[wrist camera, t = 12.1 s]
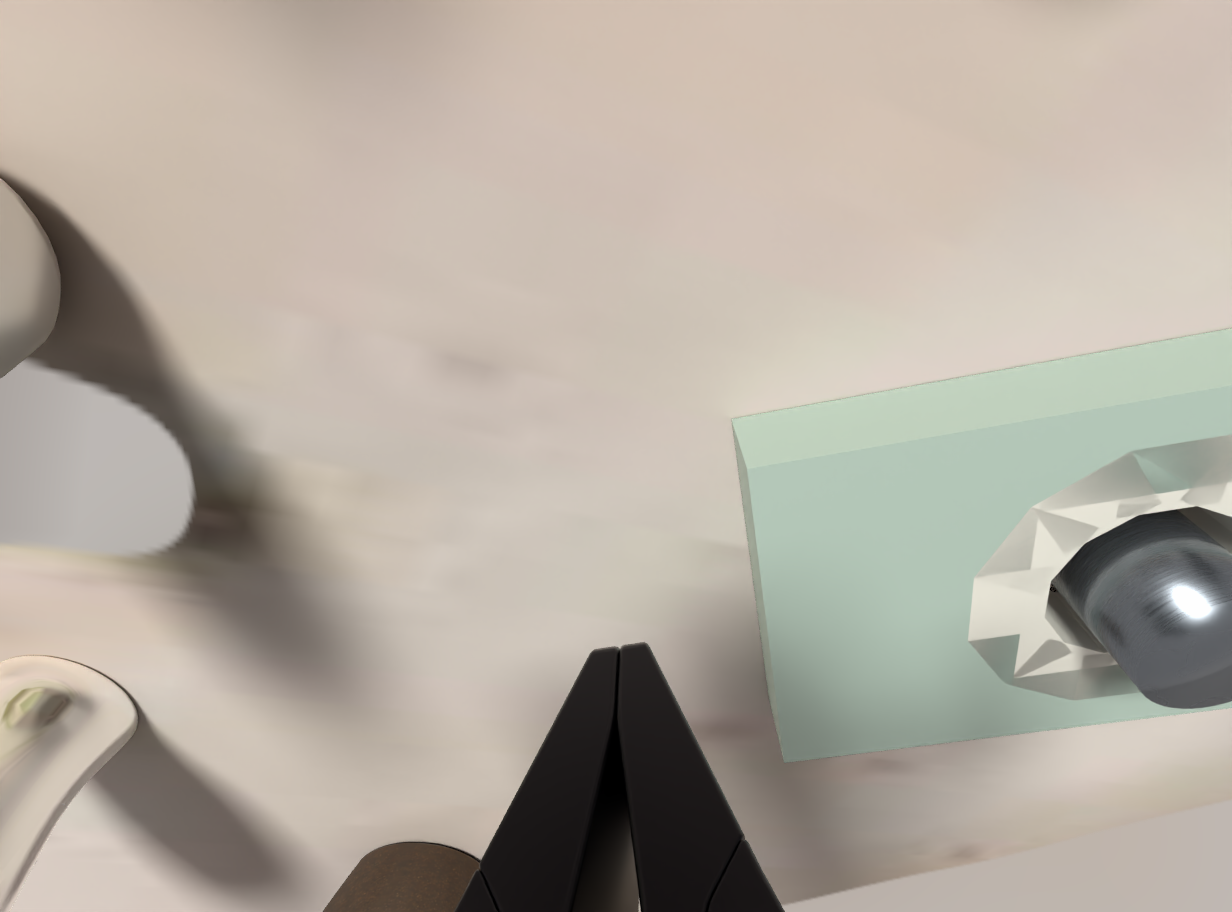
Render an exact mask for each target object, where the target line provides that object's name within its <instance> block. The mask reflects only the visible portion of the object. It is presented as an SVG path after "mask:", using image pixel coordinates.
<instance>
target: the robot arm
mask: <svg viewBox="0 0 1232 912" xmlns="http://www.w3.org/2000/svg"><path fill="white" fill-rule="evenodd" d="M479 868H480V870H481V871H480V870H476V871H475V872H474V874H473V876H472V878H471V880H470V882H469V884H468V886H467V888H466V890H465V891H464V893H463V895H462V897H461V899H460V901H459V903H458V904H457V906H456V908H455V910H454V912H638V905H639V900H640V907H641V912H785V911H784V910H783V908H782V906H781V904H780V902H779V900H778V899H777V897H776V895H775V893H774V891H773V889H772V888H771V886H770V884H769V882H768V880H767V878H766V876H765V875H764V873H763V871H762V869H761V867H760V865H759V863H758V861H757V859H756V857H755V855H754V853H753V851H752V849H751V847H750V845H749V843H748V842H747V841H746V840H745V837H744V834H743V832H742V830H741V828H740V826H739V824H738V822H737V820H736V818H735V816H734V814H733V812H732V810H731V808H730V806H729V804H728V802H727V800H726V798H725V796H724V794H723V792H722V790H721V788H720V786H719V784H718V782H717V780H716V778H715V776H714V774H713V772H712V770H711V768H710V766H709V764H708V762H707V760H706V758H705V756H704V754H703V752H702V750H701V748H700V746H699V744H698V742H697V740H696V738H695V736H694V734H693V732H692V730H691V728H690V726H689V724H688V722H687V720H686V718H685V716H684V714H683V713H682V711H681V709H680V707H679V705H678V703H677V701H676V699H675V697H674V695H673V693H672V691H671V689H670V687H669V685H668V683H667V681H666V679H665V677H664V675H663V673H662V671H661V669H660V667H659V665H658V663H657V661H656V659H655V657H654V655H653V653H652V651H651V649H650V647H649V645H648V644H647V643H645V642H642V643H635V644H628V645H623V646H622V647H621V649H619V648H618V647H608V648H601V649H595V650H593V651H592V652H591V653H590V655H589V657H588V658H587V660H586V662H585V664H584V666H583V668H582V670H581V672H580V674H579V676H578V677H577V679H576V681H575V683H574V685H573V687H572V689H571V691H570V693H569V695H568V696H567V698H566V700H565V702H564V704H563V706H562V708H561V710H560V712H559V713H558V715H557V717H556V719H555V721H554V723H553V725H552V727H551V729H550V731H549V732H548V734H547V736H546V738H545V740H544V742H543V744H542V746H541V748H540V750H539V751H538V753H537V755H536V757H535V759H534V761H533V763H532V765H531V767H530V769H529V770H528V772H527V774H526V776H525V778H524V780H523V782H522V784H521V786H520V788H519V789H518V791H517V793H516V795H515V797H514V799H513V801H512V803H511V805H510V806H509V808H508V810H507V812H506V814H505V816H504V818H503V820H502V822H501V824H500V825H499V827H498V829H497V831H496V833H495V835H494V837H493V839H492V841H491V843H490V844H489V846H488V848H487V850H486V852H485V854H484V856H483V858H482V860H481V862H480V864H479Z"/></svg>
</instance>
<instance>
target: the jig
mask: <svg viewBox="0 0 1232 912" xmlns="http://www.w3.org/2000/svg"><path fill="white" fill-rule="evenodd" d="M731 420H732V427H733V435H734V442H735V450H736V457H737V464H738V472H739V479H740V487H741V494H742V502H743V509H744V517H745V524H746V531H747V539H748V546H749V554H750V561H751V569H752V576H753V584H754V591H755V598H756V606H757V613H758V621H759V628H760V636H761V643H762V651H763V658H764V665H765V673H766V680H767V688H768V695H769V701H770V705H771V710H772V714H773V718H774V722H775V727H776V731H777V735H778V739H779V744H780V748H781V752H782V756H783V760H784V763H788V762H796V761H804V760H812V759H820V758H829V757H837V756H845V755H853V754H861V753H869V752H877V751H886V750H894V749H902V748H910V747H918V746H926V745H934V744H942V743H951V742H959V741H967V740H975V739H983V738H991V737H999V736H1008V735H1016V734H1024V733H1032V732H1040V731H1048V730H1056V729H1065V728H1073V727H1081V726H1089V725H1097V724H1105V723H1113V722H1122V721H1130V720H1138V719H1146V718H1154V717H1162V716H1170V715H1178V714H1187V713H1195V712H1203V711H1211V710H1219V709H1227V708H1232V701H1231V702H1228V703H1224V704H1220V705H1216V706H1211V707H1205V708H1195V709H1178V708H1170V707H1165V706H1162V705H1159V704H1156V703H1154V702H1152V701H1150V700H1149V699H1148V698H1146V697H1145V696H1144V695H1143V694H1142V693H1141V691H1140V690H1139V689H1138V688H1137V686H1136V685H1135V684H1134V683H1133V682H1132V680H1131V679H1130V678H1129V677H1128V676H1127V674H1126V673H1125V672H1124V671H1123V669H1122V668H1121V667H1120V666H1119V665H1118V663H1117V662H1116V661H1115V660H1114V659H1113V657H1112V656H1111V655H1110V654H1109V653H1108V651H1107V650H1106V649H1105V648H1104V646H1103V645H1102V644H1101V643H1100V642H1099V640H1098V639H1097V638H1096V637H1095V636H1094V634H1093V633H1092V632H1091V631H1090V629H1089V628H1088V627H1087V626H1086V625H1085V623H1084V622H1083V621H1082V620H1081V619H1080V617H1079V616H1078V615H1077V614H1076V612H1075V611H1074V610H1073V609H1072V608H1071V606H1070V605H1069V604H1068V603H1067V602H1066V600H1065V599H1064V598H1063V597H1062V596H1061V594H1060V593H1059V592H1052V591H1049V590H1050V584H1051V581H1052V580H1053V578H1054V577H1055V576H1056V575H1057V574H1058V573H1059V572H1060V571H1061V569H1062V568H1063V567H1064V566H1065V565H1066V564H1067V563H1068V562H1069V561H1070V559H1071V558H1072V557H1073V556H1074V555H1075V554H1076V553H1077V552H1078V550H1079V549H1080V548H1081V547H1082V546H1083V545H1084V544H1085V543H1086V542H1088V541H1090V540H1092V539H1094V538H1096V537H1098V536H1100V535H1102V534H1104V533H1106V532H1107V531H1109V530H1111V529H1113V528H1115V527H1117V526H1119V525H1121V524H1123V523H1125V522H1126V521H1128V520H1130V519H1132V518H1134V517H1136V516H1138V515H1142V514H1149V513H1155V512H1162V511H1168V510H1175V509H1180V512H1181V513H1182V514H1183V515H1185V516H1186V517H1187V518H1188V519H1189V520H1191V521H1192V522H1193V523H1194V524H1196V525H1197V526H1198V527H1199V528H1201V529H1202V530H1203V531H1204V532H1206V533H1207V534H1208V535H1209V536H1210V537H1212V538H1213V539H1214V540H1215V541H1217V542H1218V543H1219V544H1220V545H1222V546H1223V547H1224V548H1225V549H1227V550H1228V551H1229V552H1230V553H1232V328H1230V329H1225V330H1219V331H1214V332H1208V333H1203V334H1197V335H1192V336H1186V337H1181V338H1175V339H1170V340H1164V341H1159V342H1153V343H1148V344H1142V345H1137V346H1131V347H1126V348H1120V349H1115V350H1109V351H1104V352H1098V353H1093V354H1087V355H1082V356H1076V357H1071V358H1065V359H1059V360H1054V361H1048V362H1043V363H1037V364H1032V365H1026V366H1021V367H1015V368H1010V369H1004V370H999V371H993V372H988V373H982V374H977V375H971V376H966V377H960V378H955V379H949V380H944V381H938V382H933V383H927V384H922V385H916V386H911V387H905V388H900V389H894V390H889V391H883V392H877V393H872V394H866V395H861V396H855V397H850V398H844V399H839V400H833V401H828V402H822V403H817V404H811V405H806V406H800V407H795V408H789V409H784V410H778V411H773V412H767V413H762V414H756V415H751V416H745V417H740V418H734V419H731Z"/></svg>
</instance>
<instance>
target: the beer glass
mask: <svg viewBox="0 0 1232 912" xmlns="http://www.w3.org/2000/svg"><path fill="white" fill-rule="evenodd" d="M137 725H138V715H137V711H136V708H135V706H134V704H133V702H132V701H131V699H130V698H129V696H128V695H127V694H126V693H125V692H124V691H123V690H122V689H121V688H120V687H119V686H118V685H116V684H115V683H114V682H113V681H111V680H110V679H108V678H107V677H105V676H103V675H102V674H100V673H98V672H96V671H94V670H92V669H90V668H88V667H86V666H83V665H81V664H78V663H75V662H72V661H68V660H65V659H60V658H55V657H49V656H38V655H29V656H19V657H13V658H10V659H7V660H4V661H2V662H0V912H10V911H11V909H12V907H13V905H14V903H15V901H16V900H17V898H18V896H19V894H20V892H21V890H22V888H23V886H24V884H25V882H26V880H27V878H28V876H29V874H30V872H31V870H32V869H33V867H34V865H35V863H36V861H37V859H38V857H39V855H40V853H41V851H42V850H43V848H44V846H45V844H46V842H47V840H48V839H49V837H50V835H51V833H52V831H53V829H54V828H55V826H56V824H57V823H58V821H59V820H60V818H61V817H62V815H63V814H64V812H65V811H66V809H67V808H68V806H69V805H70V803H71V802H72V801H73V799H74V798H75V797H76V796H77V794H78V793H79V792H80V790H81V789H82V788H83V787H84V786H85V785H86V783H87V782H88V781H89V780H90V779H91V778H92V777H93V776H94V775H95V774H96V773H97V772H98V771H99V770H100V769H101V768H102V767H103V766H104V765H105V764H106V763H107V762H108V761H109V760H110V759H111V758H112V757H113V756H114V755H115V754H116V753H117V752H118V751H119V750H120V749H121V748H122V747H123V746H124V745H125V744H126V743H127V742H128V740H129V739H130V738H131V737H132V735H133V734H134V732H135V730H136V728H137Z"/></svg>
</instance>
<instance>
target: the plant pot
mask: <svg viewBox="0 0 1232 912" xmlns="http://www.w3.org/2000/svg"><path fill="white" fill-rule="evenodd" d="M479 864H480V863H479V862H478V861H476V860H475V859H473V858H472V857H470V856H468V855H466V854H464V853H462V852H460V851H457V850H454V849H451V848H448V847H445V846H440V845H434V844H427V843H398V844H392V845H387V846H384V847H381V848H378V849H376V850H374V851H372V852H370V853H369V854H367V855H366V856H365V857H363V858H362V859H361V861H360V862H359V863H358V865H357V866H356V867H355V869H354V870H353V871H352V872H351V874H350V875H349V876H348V878H347V879H346V880H345V882H344V883H343V884H342V886H341V887H340V889H339V890H338V891H337V893H336V894H335V895H334V897H333V898H332V900H331V901H330V902H329V904H328V905H327V906H326V908H325V909H324V911H323V912H454V910H455V908H456V906H457V904H458V903H459V901H460V899H461V897H462V895H463V893H464V891H465V890H466V888H467V886H468V884H469V882H470V880H471V878H472V876H473V874H474V872H475V871H476V870H480V868H479ZM480 871H481V870H480Z"/></svg>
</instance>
